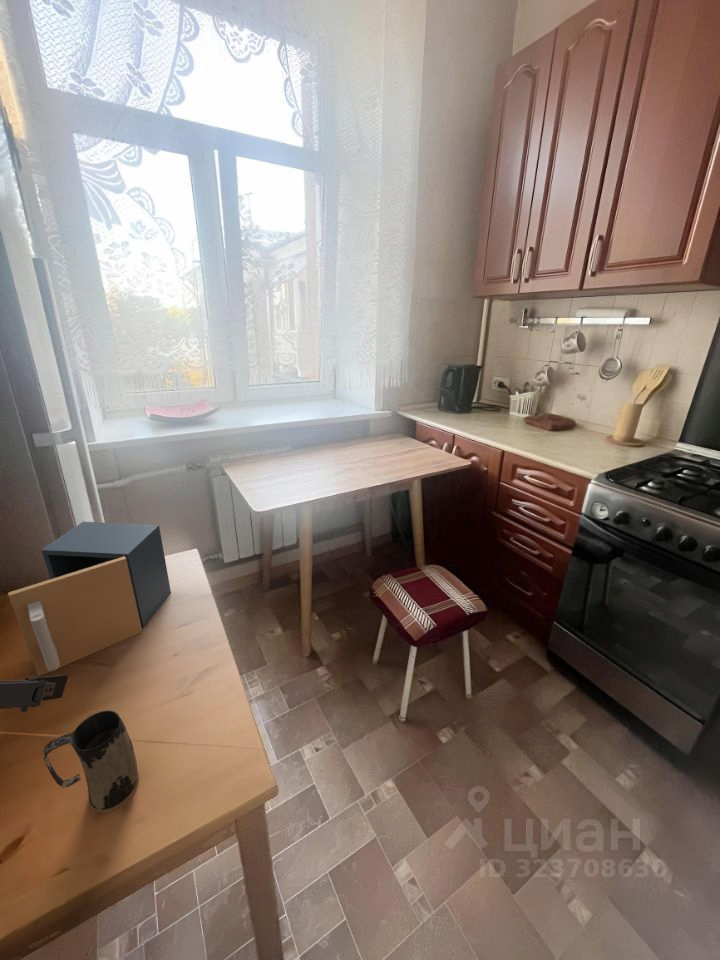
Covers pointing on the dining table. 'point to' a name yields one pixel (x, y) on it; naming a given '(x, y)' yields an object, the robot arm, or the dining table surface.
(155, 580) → the cupboard
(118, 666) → the dining table surface
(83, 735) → the mug
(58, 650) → the cupboard door
